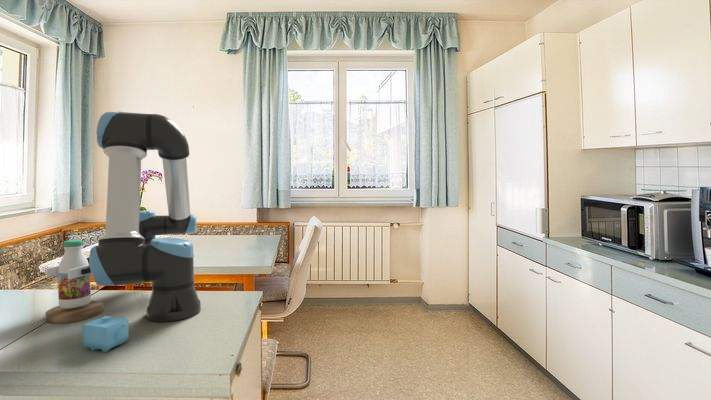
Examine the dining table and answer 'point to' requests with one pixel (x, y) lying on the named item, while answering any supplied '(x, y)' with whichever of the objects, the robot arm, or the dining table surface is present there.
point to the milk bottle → (76, 288)
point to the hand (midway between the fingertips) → (57, 273)
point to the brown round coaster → (74, 313)
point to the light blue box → (105, 333)
